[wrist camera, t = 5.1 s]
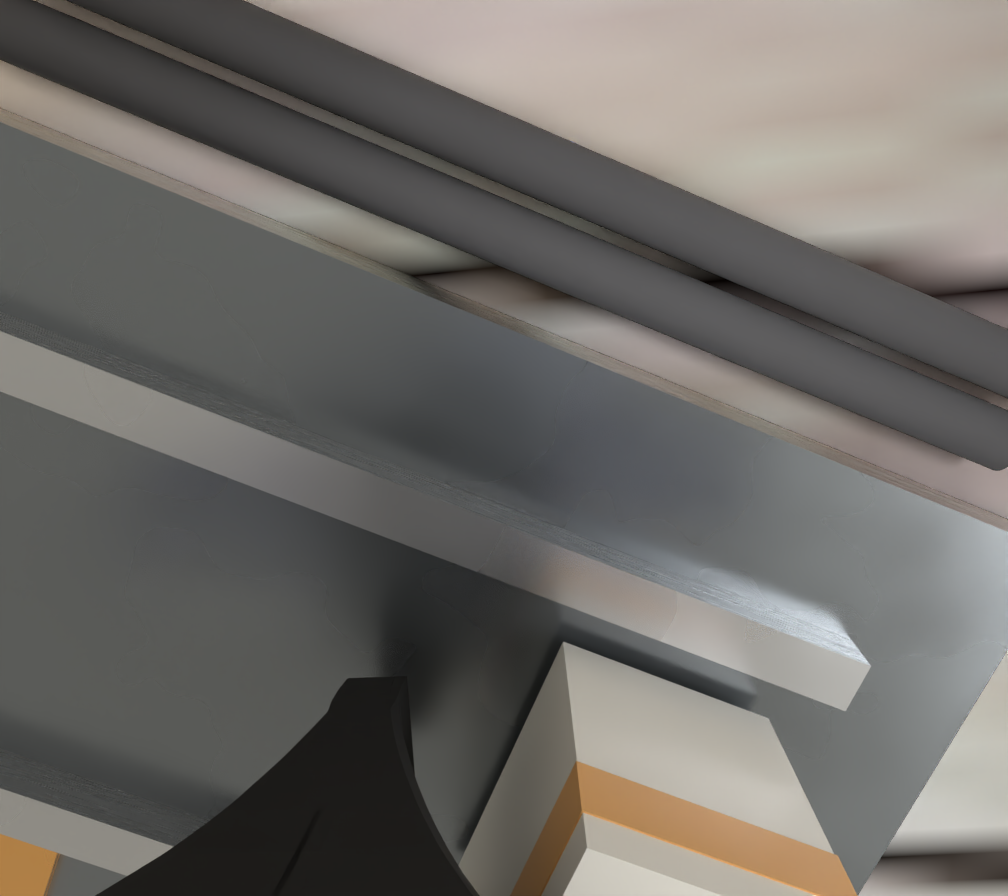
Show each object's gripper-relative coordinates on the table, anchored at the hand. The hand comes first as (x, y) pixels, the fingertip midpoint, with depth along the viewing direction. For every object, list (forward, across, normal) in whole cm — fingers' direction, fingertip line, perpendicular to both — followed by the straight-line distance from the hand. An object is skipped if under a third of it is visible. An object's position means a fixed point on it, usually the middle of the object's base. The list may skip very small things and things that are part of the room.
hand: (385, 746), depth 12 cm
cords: (+2, -3, -6) cm, 7 cm away
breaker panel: (+2, +1, 0) cm, 2 cm away
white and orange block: (+1, -3, +1) cm, 3 cm away
